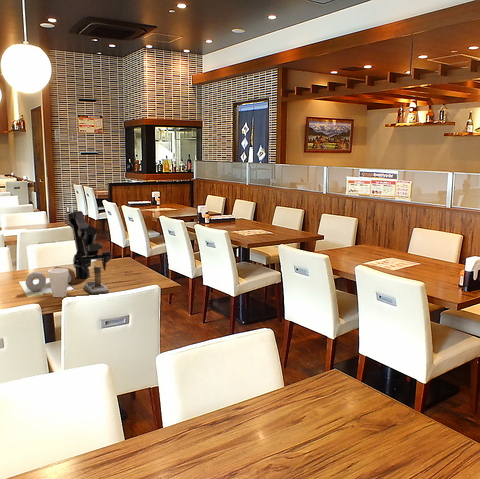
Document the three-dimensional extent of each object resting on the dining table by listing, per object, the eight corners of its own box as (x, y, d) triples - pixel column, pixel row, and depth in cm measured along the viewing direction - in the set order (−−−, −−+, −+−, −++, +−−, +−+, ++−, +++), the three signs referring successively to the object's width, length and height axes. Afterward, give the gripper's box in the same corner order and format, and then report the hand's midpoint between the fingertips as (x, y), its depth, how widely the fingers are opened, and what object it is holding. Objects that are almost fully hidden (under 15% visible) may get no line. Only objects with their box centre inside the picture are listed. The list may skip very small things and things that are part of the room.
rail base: (83, 287, 253) (82, 282, 253) (101, 285, 258) (101, 280, 258) (90, 294, 241) (90, 289, 241) (109, 292, 246) (109, 286, 246)
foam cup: (71, 293, 244) (70, 267, 241) (67, 298, 235) (66, 272, 232) (51, 293, 242) (50, 268, 240) (47, 299, 233) (45, 272, 231)
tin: (76, 283, 261) (75, 268, 260) (72, 285, 258) (71, 269, 257) (53, 280, 266) (52, 266, 265) (49, 282, 263) (48, 267, 262)
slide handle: (91, 288, 247) (91, 266, 245) (101, 287, 250) (100, 265, 248) (94, 290, 243) (93, 268, 241) (104, 289, 245) (103, 267, 243)
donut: (27, 293, 242) (26, 273, 240) (25, 291, 244) (23, 272, 243) (47, 289, 249) (46, 270, 247) (45, 288, 251) (43, 269, 249)
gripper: (73, 239, 244) (79, 264, 237) (109, 236, 254) (116, 260, 246) (70, 251, 252) (76, 276, 245) (106, 248, 262) (112, 272, 254)
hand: (95, 271), depth 247 cm, fingers open, 9 cm apart
